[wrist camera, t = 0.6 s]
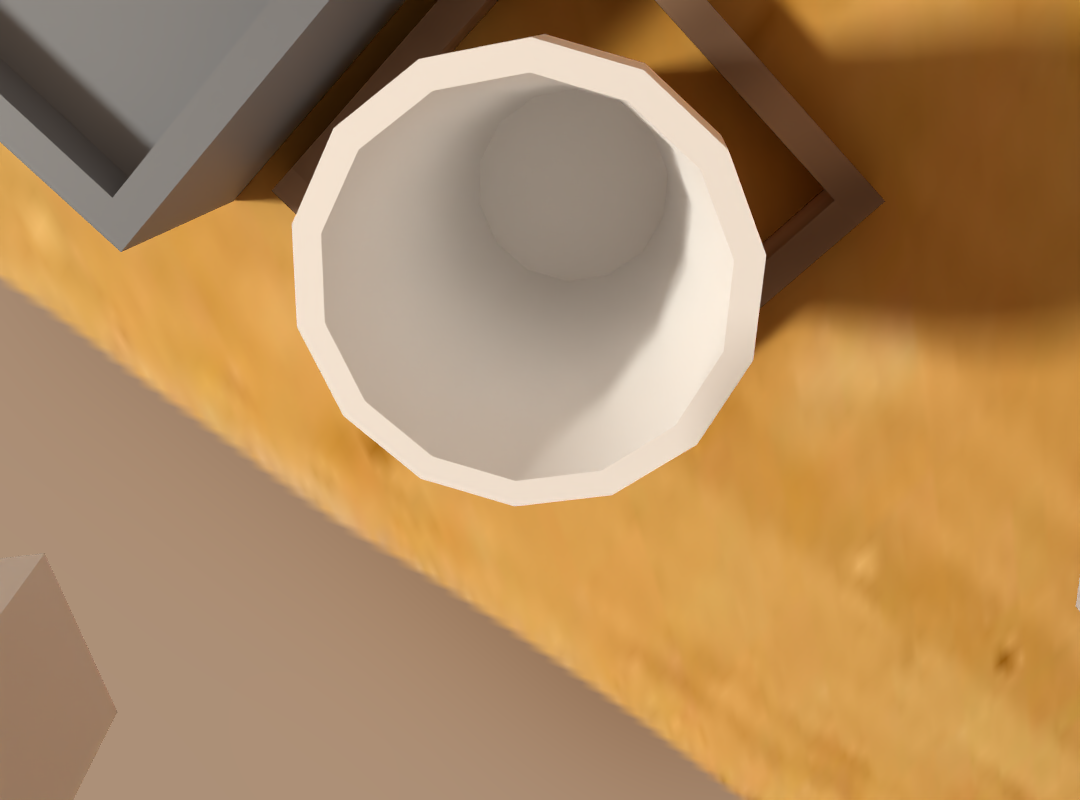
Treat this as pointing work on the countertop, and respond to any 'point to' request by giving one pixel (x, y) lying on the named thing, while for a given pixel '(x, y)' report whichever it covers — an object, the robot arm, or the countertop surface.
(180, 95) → the charcoal stand
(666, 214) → the foam cup
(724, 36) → the walnut collar
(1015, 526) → the countertop surface
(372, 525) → the countertop surface
